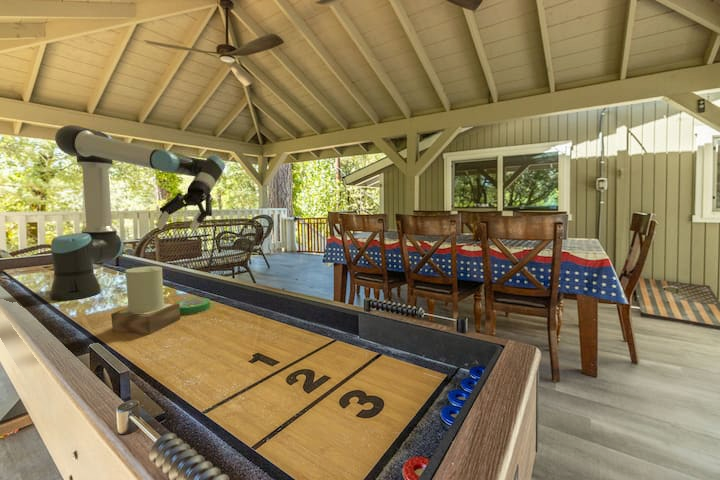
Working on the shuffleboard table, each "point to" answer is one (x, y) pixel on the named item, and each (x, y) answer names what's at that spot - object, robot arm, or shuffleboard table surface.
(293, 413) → the shuffleboard table surface
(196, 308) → the tape roll
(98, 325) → the shuffleboard table surface
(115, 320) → the plinth
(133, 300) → the can
